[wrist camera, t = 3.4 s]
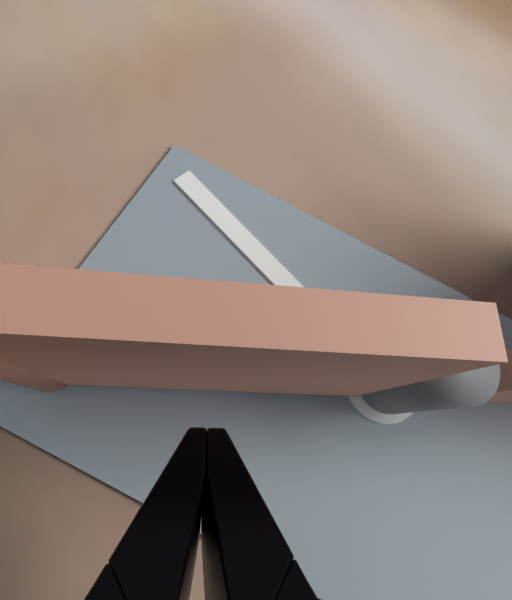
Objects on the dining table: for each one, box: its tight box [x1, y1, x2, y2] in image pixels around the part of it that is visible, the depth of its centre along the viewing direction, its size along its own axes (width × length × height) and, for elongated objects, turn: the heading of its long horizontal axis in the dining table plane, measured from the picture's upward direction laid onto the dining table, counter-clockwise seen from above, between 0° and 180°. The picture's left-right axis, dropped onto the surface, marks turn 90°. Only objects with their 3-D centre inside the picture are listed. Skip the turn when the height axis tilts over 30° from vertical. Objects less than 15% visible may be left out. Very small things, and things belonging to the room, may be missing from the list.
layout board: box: [0, 145, 512, 600], centre depth 17 cm, size 15×25×1 cm, turn 64°
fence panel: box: [0, 263, 508, 414], centre depth 12 cm, size 16×3×9 cm, turn 89°
